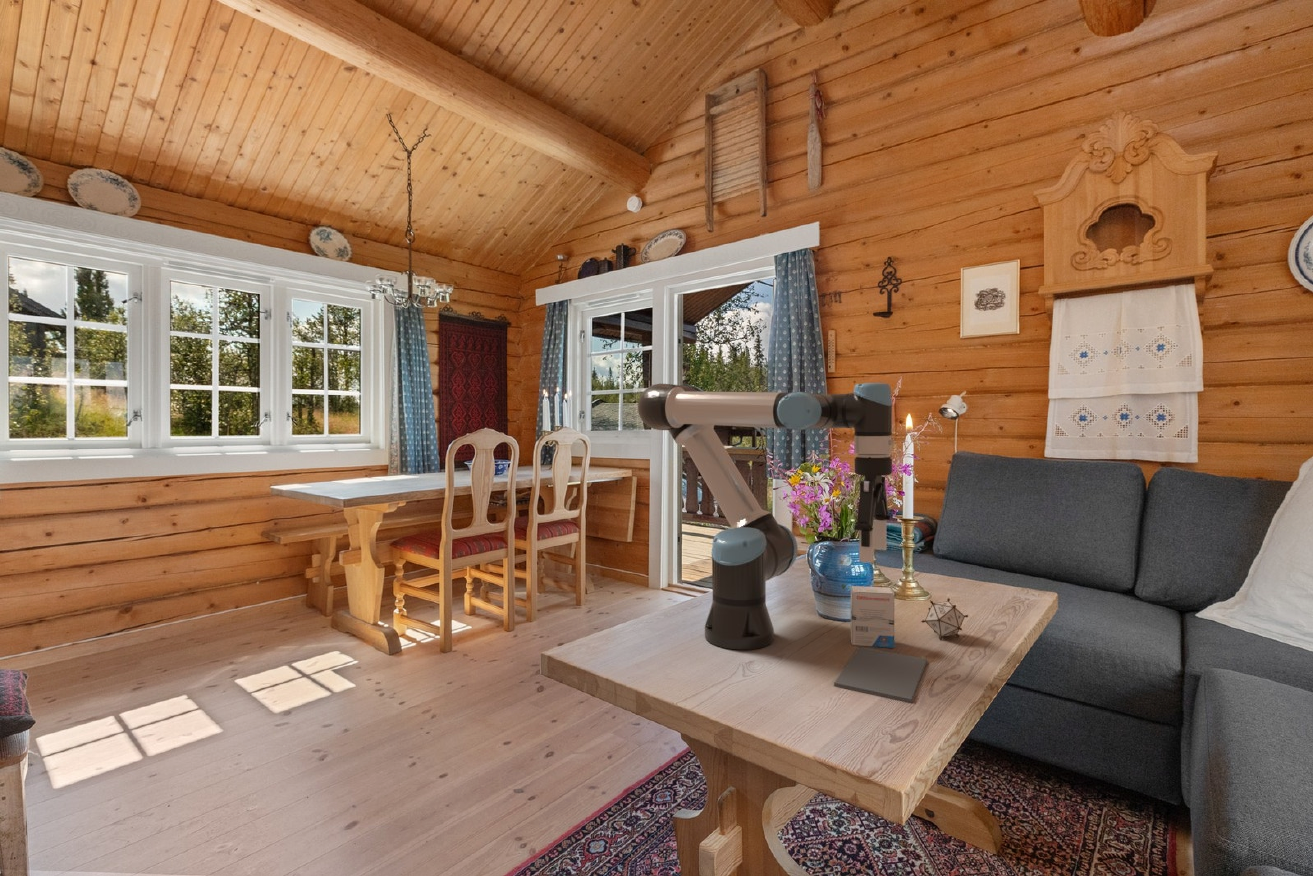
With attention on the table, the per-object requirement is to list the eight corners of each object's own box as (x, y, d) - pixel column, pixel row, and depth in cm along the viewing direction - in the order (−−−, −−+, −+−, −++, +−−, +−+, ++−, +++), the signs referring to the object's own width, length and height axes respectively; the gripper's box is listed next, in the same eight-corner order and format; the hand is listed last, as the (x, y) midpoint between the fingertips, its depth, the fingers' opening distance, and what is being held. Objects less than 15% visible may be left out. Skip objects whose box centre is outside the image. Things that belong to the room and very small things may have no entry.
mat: (834, 686, 110) (834, 682, 110) (859, 649, 127) (859, 646, 127) (911, 702, 103) (911, 699, 103) (926, 662, 120) (926, 659, 120)
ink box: (891, 640, 132) (891, 587, 132) (894, 649, 127) (895, 593, 127) (849, 637, 134) (850, 584, 134) (851, 646, 129) (851, 591, 129)
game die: (953, 656, 133) (976, 628, 127) (915, 639, 134) (936, 612, 128) (952, 624, 140) (974, 597, 134) (915, 609, 141) (935, 582, 135)
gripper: (879, 460, 117) (880, 570, 117) (901, 453, 138) (902, 546, 139) (840, 459, 121) (840, 565, 121) (867, 452, 142) (867, 543, 143)
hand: (873, 555), depth 130 cm, fingers open, 13 cm apart
